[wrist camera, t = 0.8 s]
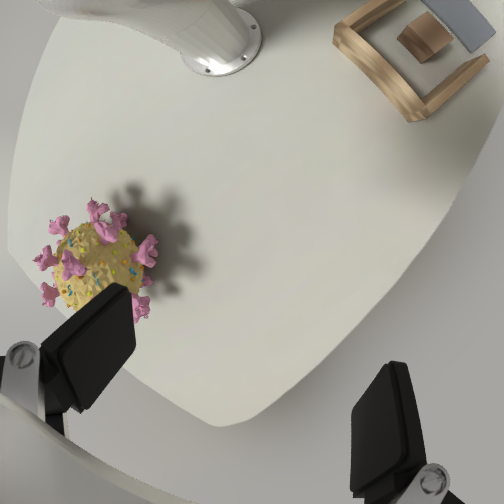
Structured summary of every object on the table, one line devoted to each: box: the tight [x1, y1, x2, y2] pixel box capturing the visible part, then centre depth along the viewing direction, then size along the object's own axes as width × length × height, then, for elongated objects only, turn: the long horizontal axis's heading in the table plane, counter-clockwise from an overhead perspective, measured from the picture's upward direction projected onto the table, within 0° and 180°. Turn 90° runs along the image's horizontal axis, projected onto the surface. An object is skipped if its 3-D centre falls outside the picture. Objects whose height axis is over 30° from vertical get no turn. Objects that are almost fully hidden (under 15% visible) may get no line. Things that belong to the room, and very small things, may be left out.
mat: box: [421, 0, 496, 53], centre depth 20 cm, size 12×10×1 cm
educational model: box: [32, 197, 159, 324], centre depth 41 cm, size 23×22×20 cm
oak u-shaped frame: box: [332, 0, 490, 122], centre depth 24 cm, size 15×16×7 cm
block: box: [397, 11, 454, 64], centre depth 23 cm, size 5×5×6 cm
